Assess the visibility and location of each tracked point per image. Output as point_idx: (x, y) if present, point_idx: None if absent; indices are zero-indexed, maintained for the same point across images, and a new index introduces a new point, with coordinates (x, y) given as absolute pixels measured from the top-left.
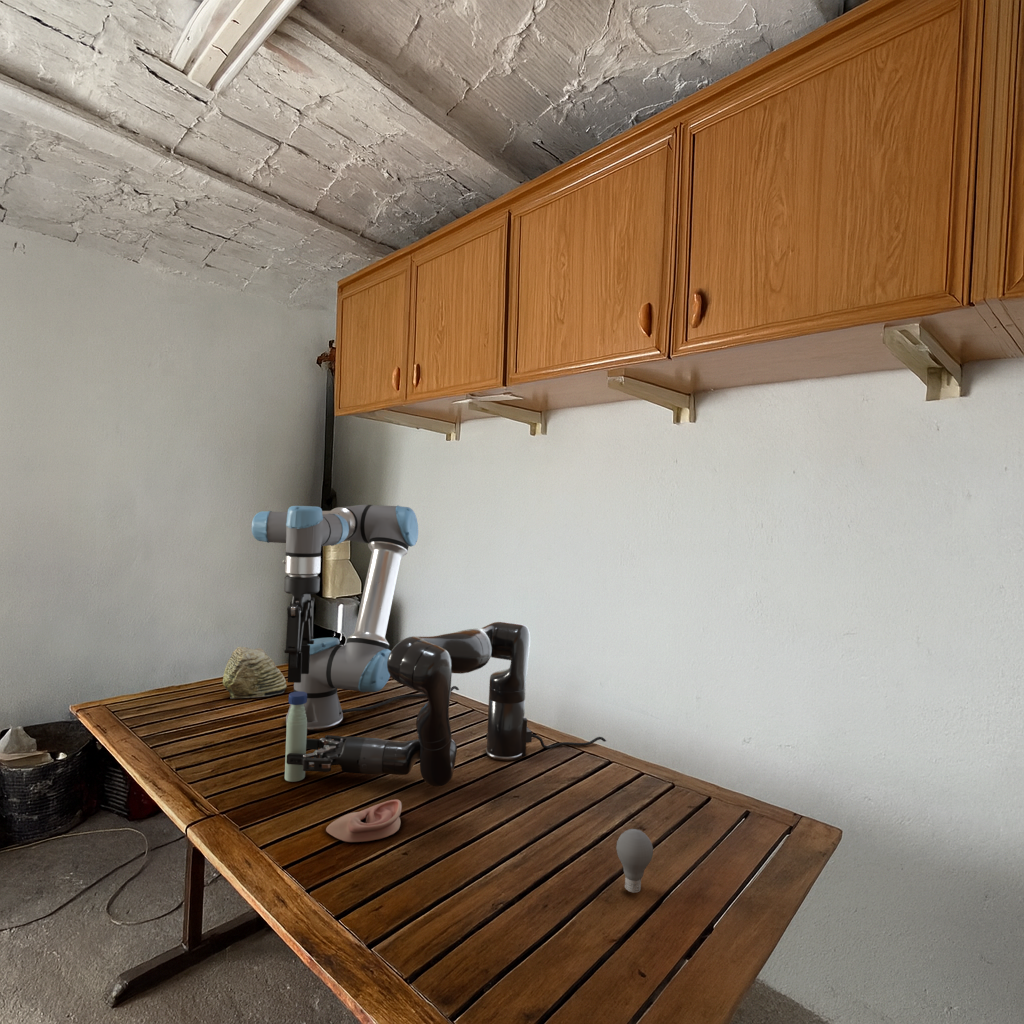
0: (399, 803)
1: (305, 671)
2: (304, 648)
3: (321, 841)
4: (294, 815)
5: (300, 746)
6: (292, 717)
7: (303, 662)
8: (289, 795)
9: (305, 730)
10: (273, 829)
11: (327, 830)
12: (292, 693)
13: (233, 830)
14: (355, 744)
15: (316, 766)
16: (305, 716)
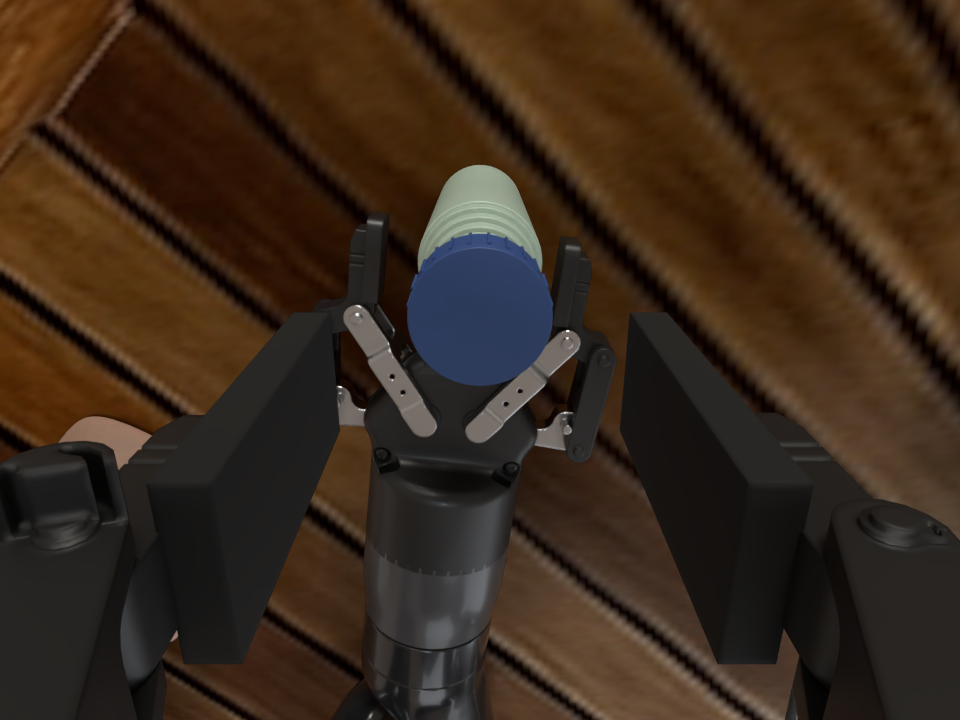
0: None
1: (629, 414)
2: (709, 564)
3: (35, 413)
4: (173, 291)
5: None
6: (425, 258)
7: (654, 439)
8: (320, 230)
9: None
10: (65, 247)
11: (76, 425)
12: (490, 271)
13: (22, 103)
14: (394, 535)
15: None
16: None
